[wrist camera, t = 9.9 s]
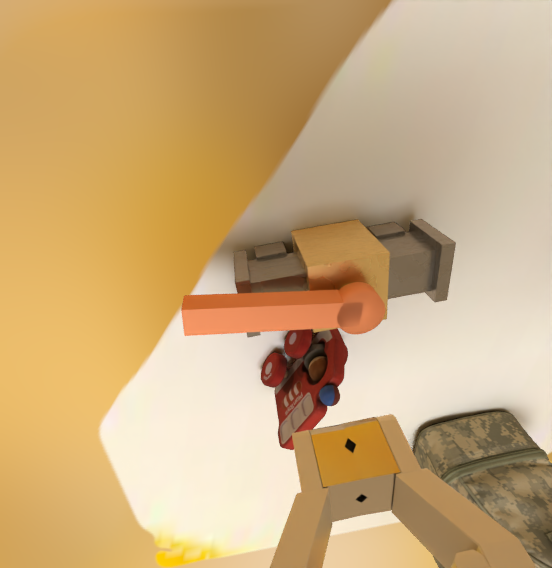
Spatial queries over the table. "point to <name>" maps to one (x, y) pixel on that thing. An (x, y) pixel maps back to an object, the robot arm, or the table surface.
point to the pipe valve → (352, 261)
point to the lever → (284, 311)
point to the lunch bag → (495, 475)
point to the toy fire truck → (305, 380)
